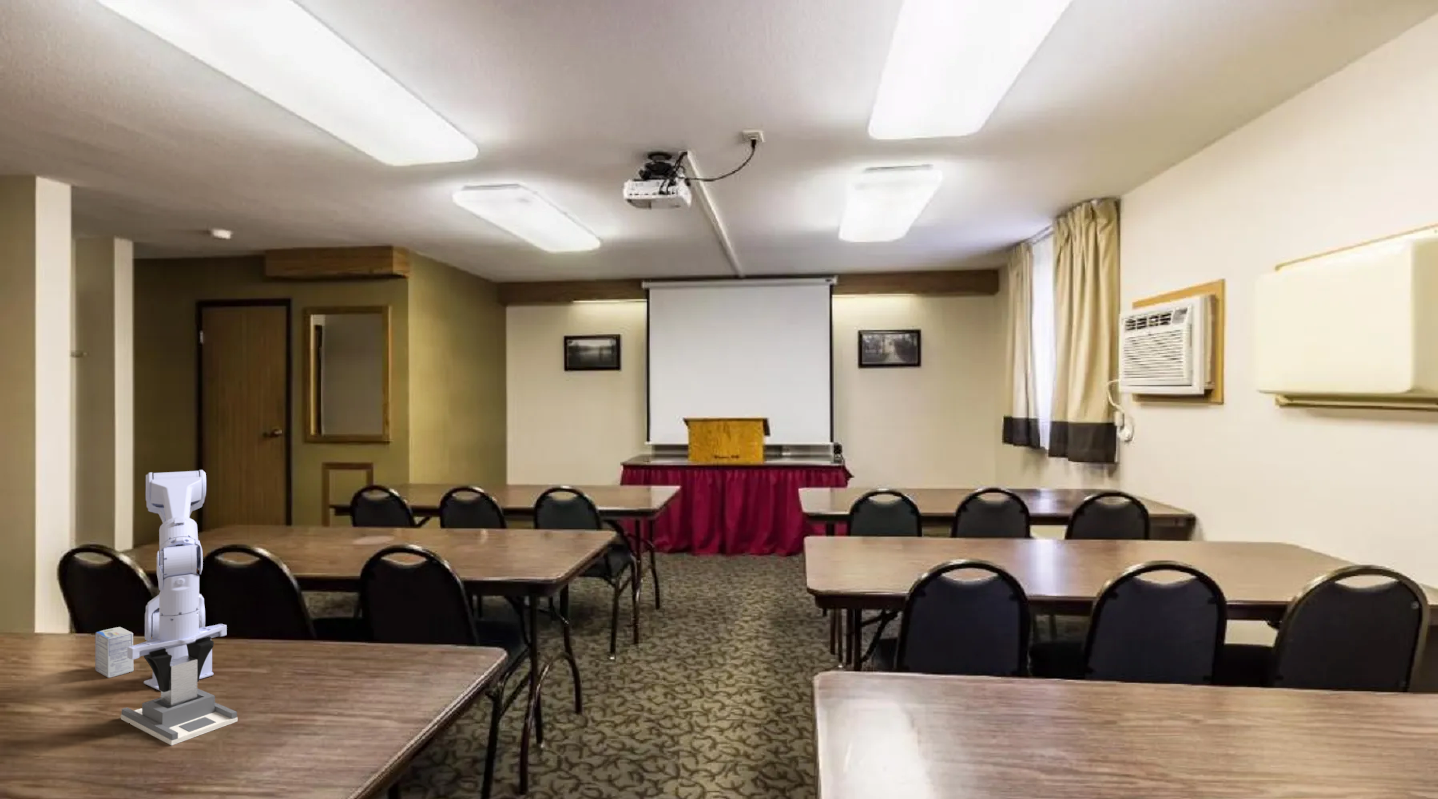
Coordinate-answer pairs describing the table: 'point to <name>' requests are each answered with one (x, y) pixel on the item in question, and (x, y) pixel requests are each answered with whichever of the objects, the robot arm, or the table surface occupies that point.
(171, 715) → the frame
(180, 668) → the steel square block
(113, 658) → the medicine box
